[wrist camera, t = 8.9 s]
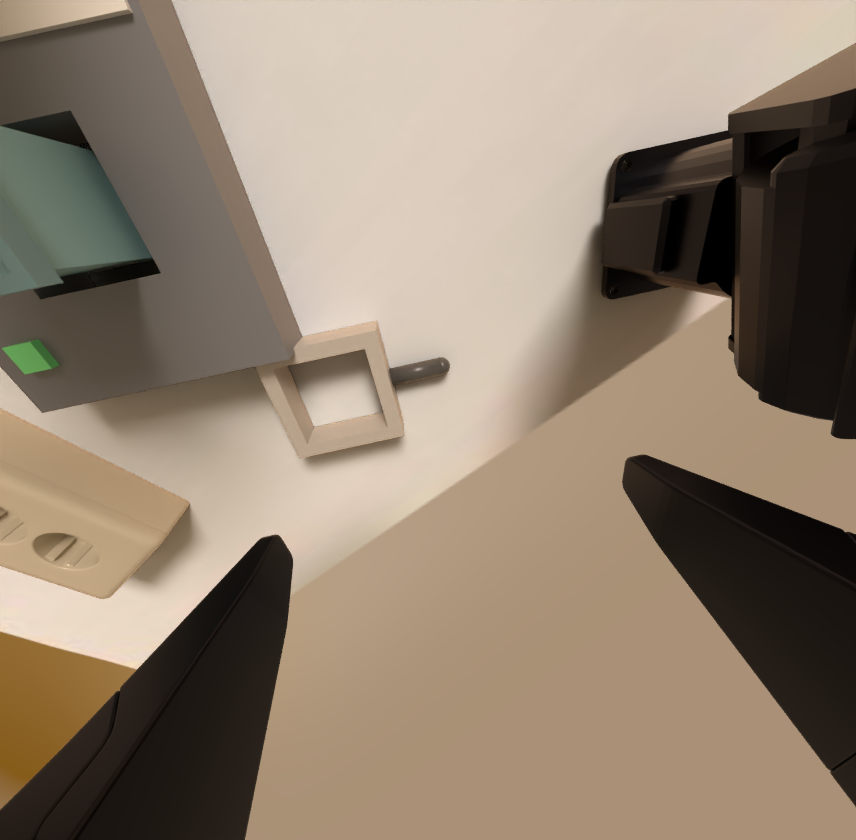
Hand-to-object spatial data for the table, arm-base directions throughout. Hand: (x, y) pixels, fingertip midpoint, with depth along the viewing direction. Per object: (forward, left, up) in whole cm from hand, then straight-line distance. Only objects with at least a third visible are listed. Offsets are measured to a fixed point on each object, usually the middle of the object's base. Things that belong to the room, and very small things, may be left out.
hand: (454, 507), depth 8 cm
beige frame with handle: (+3, +1, -13) cm, 13 cm away
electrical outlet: (+25, +1, -13) cm, 29 cm away
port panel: (+12, -9, -12) cm, 20 cm away
